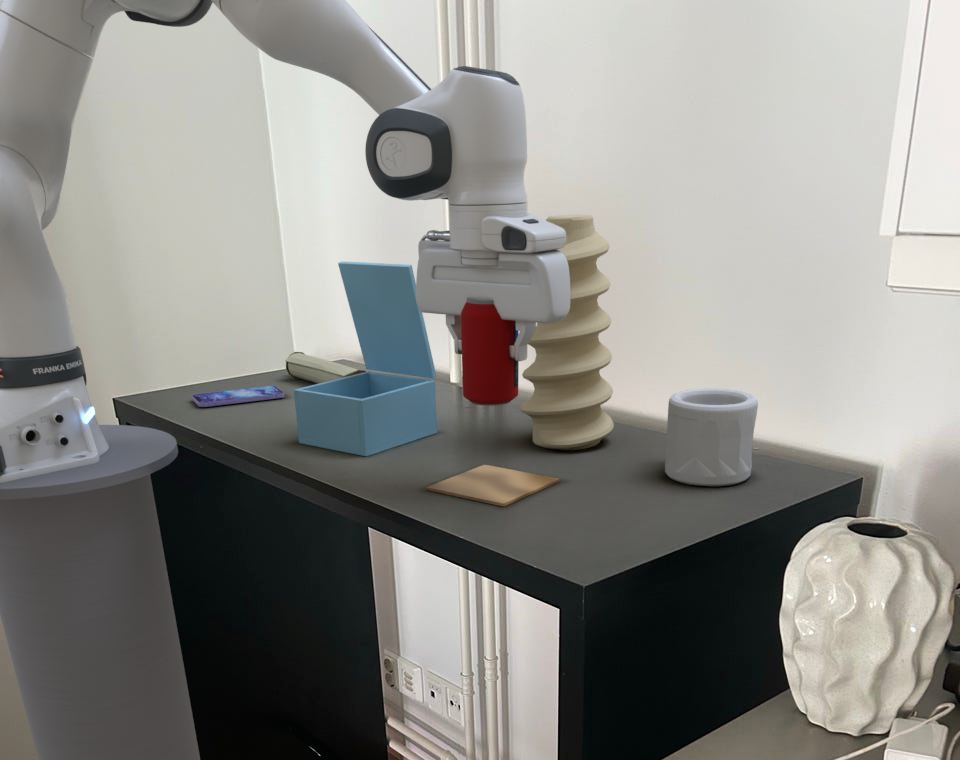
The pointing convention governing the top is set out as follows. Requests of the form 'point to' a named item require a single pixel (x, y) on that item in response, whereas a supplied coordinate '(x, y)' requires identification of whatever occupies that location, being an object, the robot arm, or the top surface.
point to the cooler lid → (388, 318)
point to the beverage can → (487, 355)
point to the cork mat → (493, 485)
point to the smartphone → (237, 396)
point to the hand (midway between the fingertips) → (490, 357)
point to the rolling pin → (317, 368)
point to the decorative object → (573, 351)
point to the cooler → (366, 412)
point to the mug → (710, 436)
